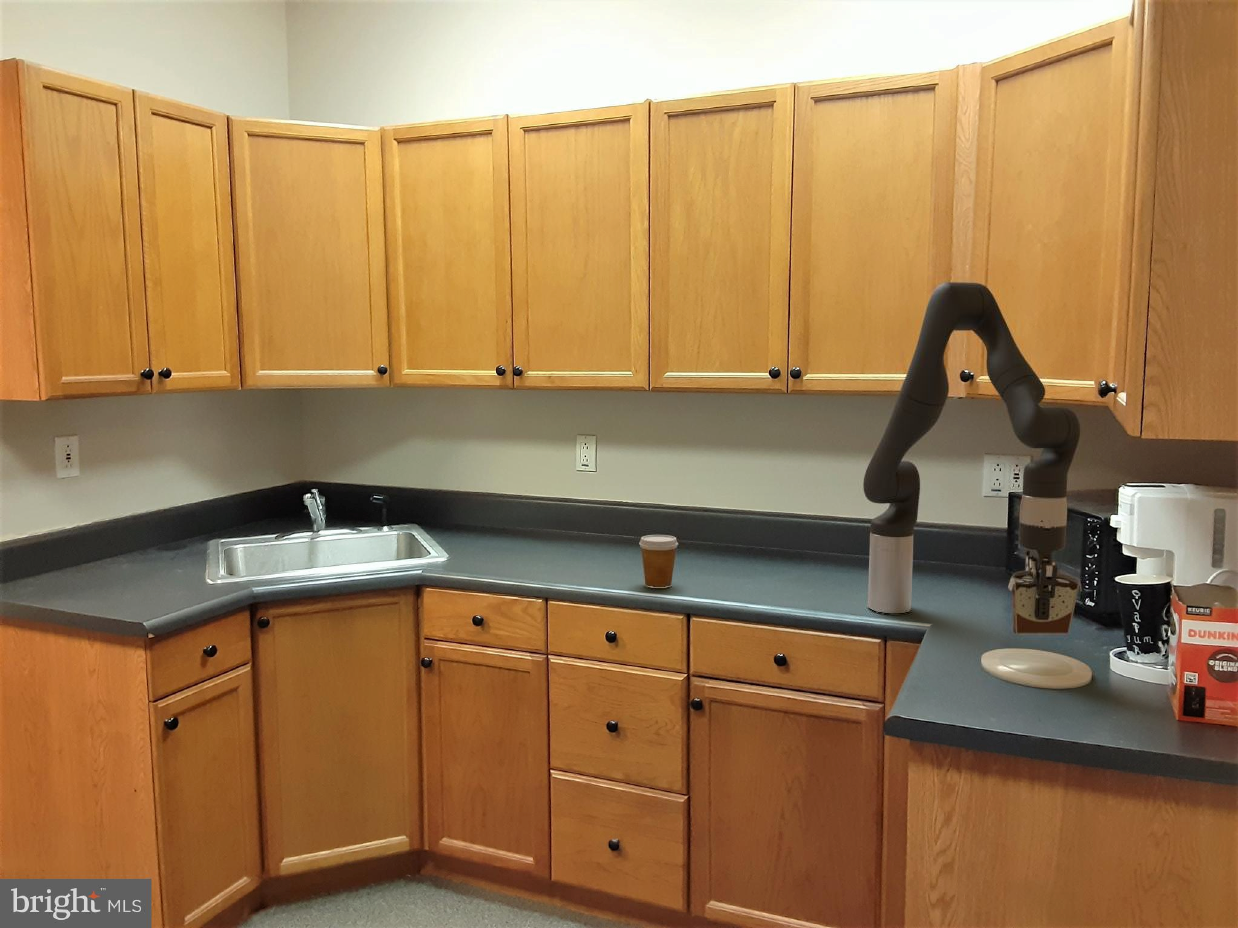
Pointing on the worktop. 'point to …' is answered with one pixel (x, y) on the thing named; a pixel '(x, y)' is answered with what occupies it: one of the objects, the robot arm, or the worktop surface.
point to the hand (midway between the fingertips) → (1037, 614)
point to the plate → (1036, 668)
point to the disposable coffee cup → (658, 559)
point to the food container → (1059, 605)
